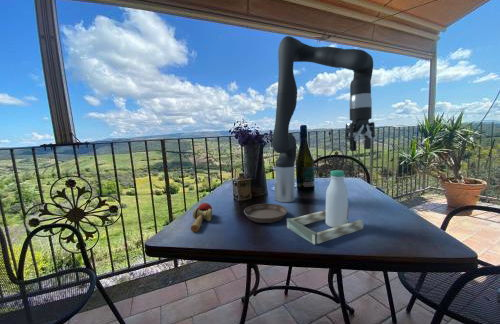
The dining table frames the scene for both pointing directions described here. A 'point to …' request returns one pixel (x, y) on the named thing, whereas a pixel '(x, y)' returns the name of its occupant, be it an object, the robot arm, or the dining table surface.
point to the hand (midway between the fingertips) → (360, 150)
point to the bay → (322, 236)
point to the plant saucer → (265, 213)
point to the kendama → (201, 215)
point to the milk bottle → (337, 200)
